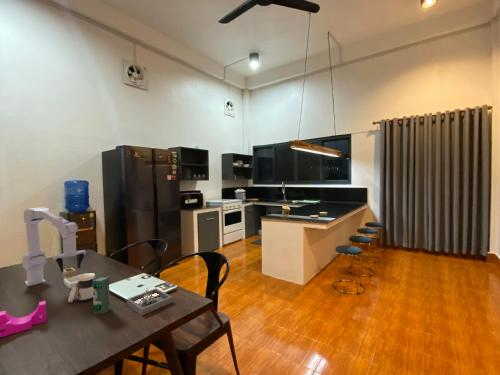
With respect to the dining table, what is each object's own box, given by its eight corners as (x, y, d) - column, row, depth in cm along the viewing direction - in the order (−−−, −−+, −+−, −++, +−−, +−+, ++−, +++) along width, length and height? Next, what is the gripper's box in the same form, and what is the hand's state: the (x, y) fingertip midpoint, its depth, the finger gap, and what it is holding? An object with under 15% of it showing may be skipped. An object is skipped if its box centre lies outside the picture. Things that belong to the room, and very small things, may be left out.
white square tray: (64, 283, 145) (63, 278, 145) (86, 277, 153) (86, 273, 153) (69, 289, 137) (69, 284, 137) (93, 282, 146) (93, 277, 146)
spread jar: (101, 297, 127) (100, 274, 127) (77, 307, 117) (76, 283, 117) (87, 292, 133) (86, 270, 133) (63, 301, 123) (62, 278, 123)
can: (93, 310, 115) (92, 278, 114) (108, 306, 118) (107, 274, 118) (94, 316, 110) (93, 282, 109) (110, 311, 113) (109, 278, 113)
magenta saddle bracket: (-5, 338, 95) (-6, 319, 95) (-3, 331, 100) (-4, 312, 100) (46, 323, 105) (45, 306, 104) (46, 317, 109) (45, 300, 109)
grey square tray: (126, 305, 119) (126, 299, 119) (156, 294, 130) (156, 288, 130) (142, 316, 109) (141, 309, 109) (172, 303, 121) (172, 296, 120)
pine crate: (62, 279, 151) (62, 269, 151) (72, 277, 155) (72, 267, 155) (65, 282, 146) (65, 272, 146) (75, 280, 150) (75, 270, 150)
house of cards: (139, 313, 112) (139, 296, 111) (135, 306, 119) (134, 290, 118) (160, 307, 117) (159, 291, 117) (154, 300, 124) (154, 284, 124)
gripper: (55, 249, 130) (55, 275, 130) (87, 243, 141) (87, 267, 141) (51, 247, 134) (52, 272, 135) (83, 241, 145) (83, 264, 146)
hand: (70, 269), depth 138 cm, fingers open, 7 cm apart
